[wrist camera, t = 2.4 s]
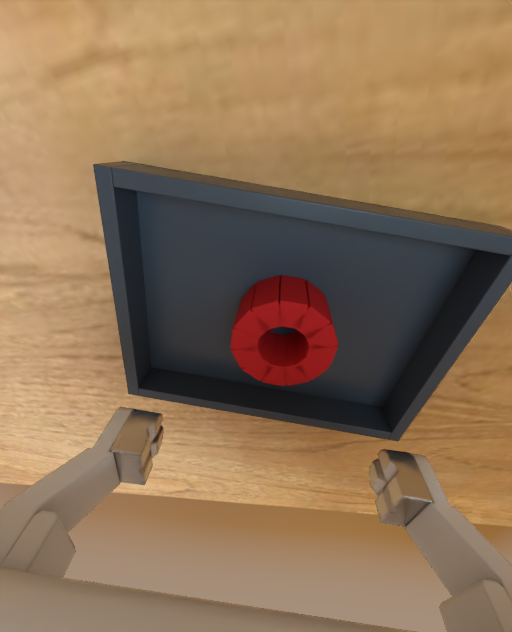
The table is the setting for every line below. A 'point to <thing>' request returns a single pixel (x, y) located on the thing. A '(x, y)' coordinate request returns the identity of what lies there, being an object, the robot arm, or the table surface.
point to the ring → (284, 350)
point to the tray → (297, 261)
